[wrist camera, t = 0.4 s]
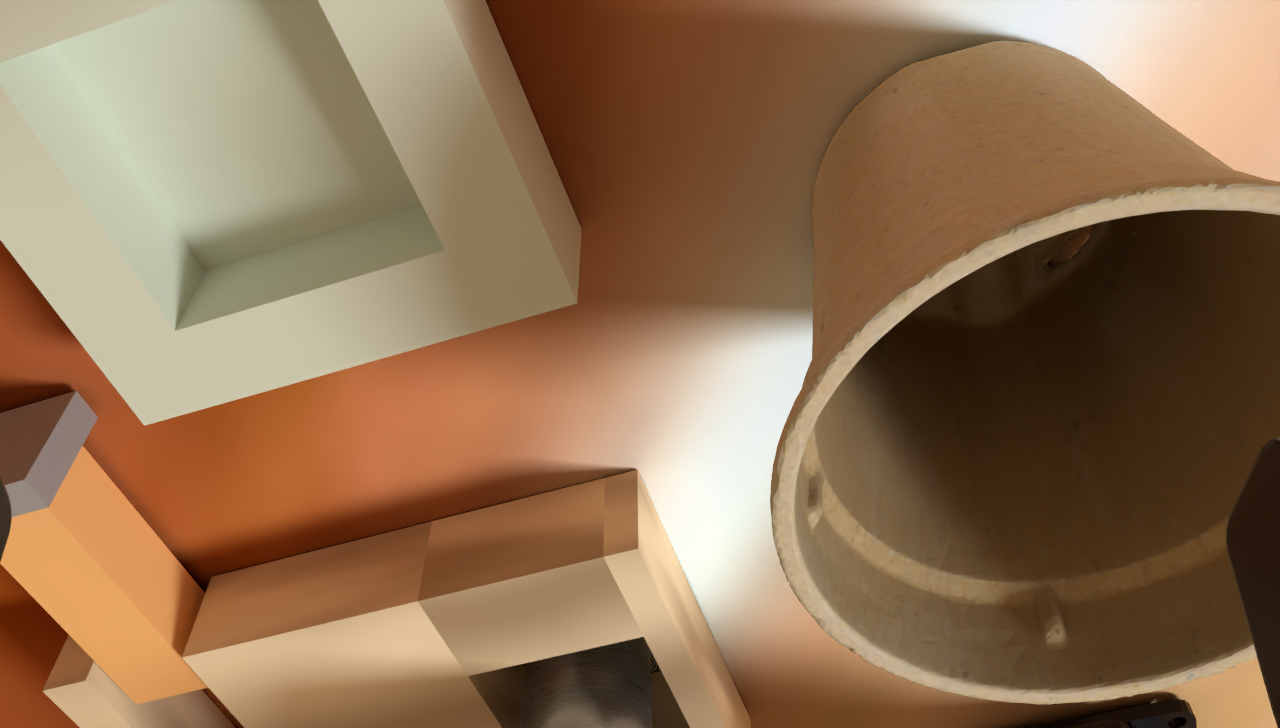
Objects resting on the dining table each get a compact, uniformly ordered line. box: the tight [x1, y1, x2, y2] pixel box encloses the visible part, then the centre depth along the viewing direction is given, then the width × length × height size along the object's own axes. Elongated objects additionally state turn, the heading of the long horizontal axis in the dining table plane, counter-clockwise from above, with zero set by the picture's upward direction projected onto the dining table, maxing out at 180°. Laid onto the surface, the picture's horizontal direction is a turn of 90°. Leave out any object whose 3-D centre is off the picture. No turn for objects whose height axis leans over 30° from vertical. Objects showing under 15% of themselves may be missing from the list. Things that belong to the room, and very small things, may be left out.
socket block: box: [42, 470, 751, 728], centre depth 31 cm, size 10×15×2 cm, turn 108°
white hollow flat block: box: [0, 0, 582, 426], centre depth 21 cm, size 9×9×3 cm
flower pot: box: [770, 41, 1280, 705], centre depth 20 cm, size 9×9×9 cm
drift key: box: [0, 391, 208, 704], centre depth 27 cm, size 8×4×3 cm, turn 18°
